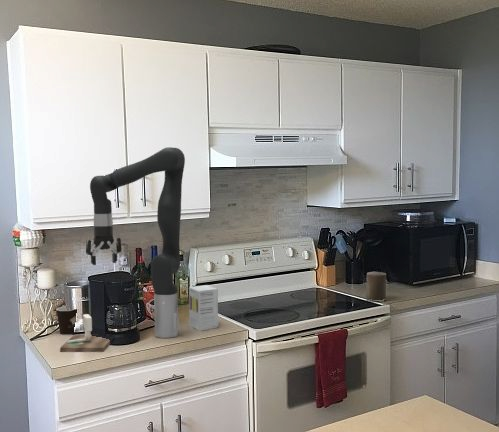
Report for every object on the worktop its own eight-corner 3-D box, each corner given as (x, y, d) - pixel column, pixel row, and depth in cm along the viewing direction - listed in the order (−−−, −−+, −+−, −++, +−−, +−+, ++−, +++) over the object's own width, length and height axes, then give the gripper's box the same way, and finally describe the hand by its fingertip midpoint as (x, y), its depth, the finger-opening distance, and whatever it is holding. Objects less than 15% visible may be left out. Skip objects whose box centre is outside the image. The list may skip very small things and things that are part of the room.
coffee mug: (61, 336, 232) (60, 312, 232) (54, 331, 239) (53, 307, 239) (89, 331, 239) (88, 307, 238) (81, 326, 246) (81, 303, 245)
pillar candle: (381, 303, 286) (382, 273, 285) (363, 300, 291) (363, 271, 290) (388, 299, 294) (389, 270, 293) (369, 297, 299) (370, 268, 298)
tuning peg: (89, 337, 224) (88, 314, 223) (92, 342, 219) (91, 317, 218) (66, 341, 220) (65, 316, 220) (69, 345, 215) (68, 320, 214)
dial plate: (114, 338, 229) (114, 334, 229) (103, 351, 213) (103, 347, 213) (73, 338, 229) (73, 334, 229) (60, 351, 213) (60, 347, 213)
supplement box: (188, 325, 247) (188, 286, 246) (207, 322, 252) (207, 284, 251) (199, 331, 239) (198, 290, 238) (218, 327, 244) (218, 288, 243)
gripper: (116, 222, 243) (117, 260, 245) (82, 224, 235) (84, 264, 237) (123, 224, 237) (124, 263, 239) (89, 226, 229) (90, 266, 231)
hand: (104, 263), depth 238 cm, fingers open, 8 cm apart
